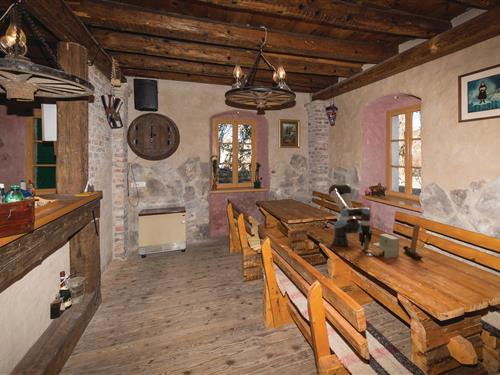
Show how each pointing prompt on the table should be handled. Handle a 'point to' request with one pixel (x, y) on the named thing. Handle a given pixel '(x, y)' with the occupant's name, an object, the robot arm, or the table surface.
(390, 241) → the plinth shelf
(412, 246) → the hammer
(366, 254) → the chrome dome knob
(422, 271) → the table surface
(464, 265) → the table surface
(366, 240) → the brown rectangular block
